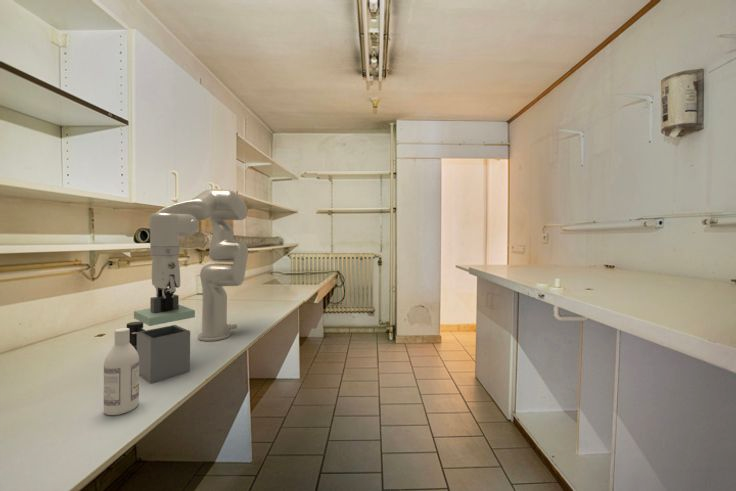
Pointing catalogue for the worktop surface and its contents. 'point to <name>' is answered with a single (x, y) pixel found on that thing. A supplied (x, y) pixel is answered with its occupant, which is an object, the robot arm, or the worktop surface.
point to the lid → (160, 317)
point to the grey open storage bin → (163, 352)
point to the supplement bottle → (134, 332)
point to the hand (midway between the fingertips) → (164, 309)
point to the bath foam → (121, 375)
